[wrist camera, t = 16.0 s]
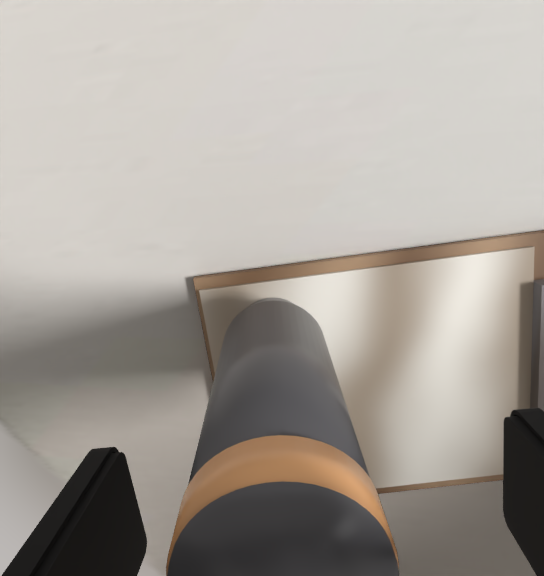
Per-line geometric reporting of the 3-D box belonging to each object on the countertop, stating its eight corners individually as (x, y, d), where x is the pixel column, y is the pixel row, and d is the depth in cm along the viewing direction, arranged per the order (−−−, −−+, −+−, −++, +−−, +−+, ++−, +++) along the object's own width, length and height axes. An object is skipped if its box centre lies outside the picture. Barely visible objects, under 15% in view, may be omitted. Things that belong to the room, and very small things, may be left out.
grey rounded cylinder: (314, 278, 19) (394, 471, 7) (325, 366, 20) (408, 659, 8) (218, 292, 19) (139, 505, 7) (234, 379, 20) (188, 683, 8)
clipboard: (570, 226, 18) (589, 231, 17) (558, 467, 22) (574, 484, 21) (194, 276, 19) (189, 284, 18) (237, 503, 22) (236, 521, 21)
